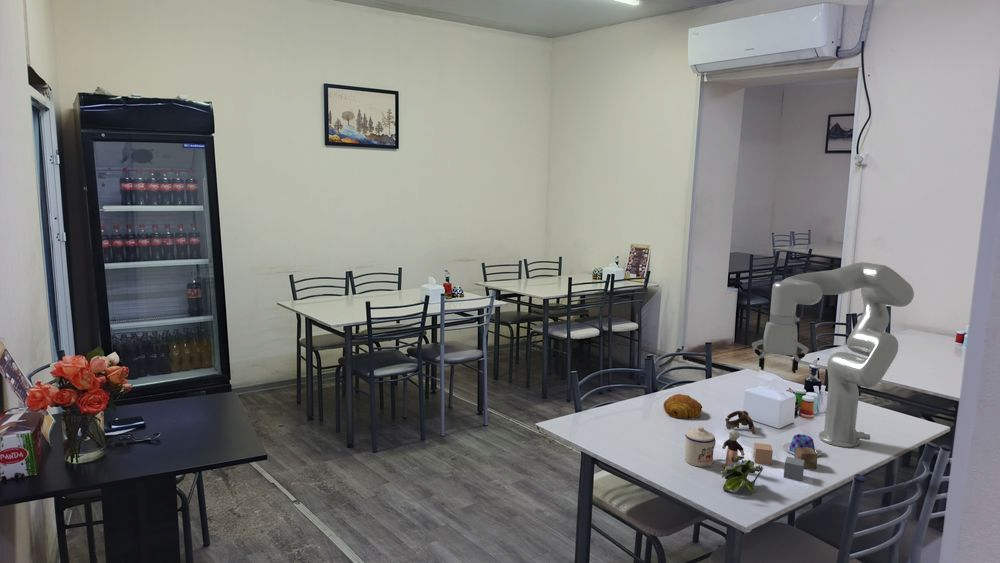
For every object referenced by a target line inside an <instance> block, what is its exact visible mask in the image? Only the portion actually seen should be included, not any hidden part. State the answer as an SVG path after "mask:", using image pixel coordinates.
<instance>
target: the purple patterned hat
mask: <svg viewBox="0 0 1000 563" xmlns="http://www.w3.org/2000/svg"><path fill="white" fill-rule="evenodd" d="M796 447H804V448H812V449H813V450H814V451H815V450H816V452H817V454H818V457H820V456H821V455H822V454H823V452H822V450H820V448H818V447H816V446H815V442H814V439H813V438H812V436H809V435H807V434H801V433H800V434H799V433H797V434H794V435H793V437H792V440H791V442H787V443H784V444H783V445H782V448H783V449H784V450H785V451H786V452H788V453H790V454H791V455H795V450H796Z"/></svg>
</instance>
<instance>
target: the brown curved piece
mask: <svg viewBox="0 0 1000 563" xmlns="http://www.w3.org/2000/svg"><path fill="white" fill-rule="evenodd" d="M734 417H738V418H736V419H734V420H731V419H732V418H734ZM740 425H741V426H748V429H749V430H750V431H751V434H752V435H755V433H756V430H755V424H754V422H753V419H752V418H751V416H749V413H748V411H747V410H735V411H733V412H730V413H729V414H728V415H727V416H726V418H725V428H726V429H734V428H737V429H740Z"/></svg>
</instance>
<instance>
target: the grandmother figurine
mask: <svg viewBox="0 0 1000 563" xmlns="http://www.w3.org/2000/svg"><path fill="white" fill-rule="evenodd" d="M728 434H729V435H728V437H729V438H728V439H727V440H725V441H724V442H723V445H722V447H721V448H722V449H723V450H725V449H726V456H725V463H722V467H723V468H725V467H726V466H729V465H731V463H732V464H735V463H736V462H735V463H734V462H733V461H731V460H732V457H737V456H739V455H738V453H739V452H740V453H741V454H740V456H744V457H745V452H744V450H745V449H744V447H743V446H742V444H740V443H739V442H738V441H737V440H738V439H740V438H741V435H740V433H739V432H738V431H737V430H736V429H734V428H730V430H729V431H728ZM728 464H729V465H728Z"/></svg>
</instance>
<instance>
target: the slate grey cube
mask: <svg viewBox="0 0 1000 563" xmlns="http://www.w3.org/2000/svg"><path fill="white" fill-rule="evenodd" d="M804 461H805V460H801V459H797V458H795V457H791V456H786V458H785V461H784V467H783V478H785V479H789V480H793V481H798V482H802V481H803V477H804V472H805V468H804Z"/></svg>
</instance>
